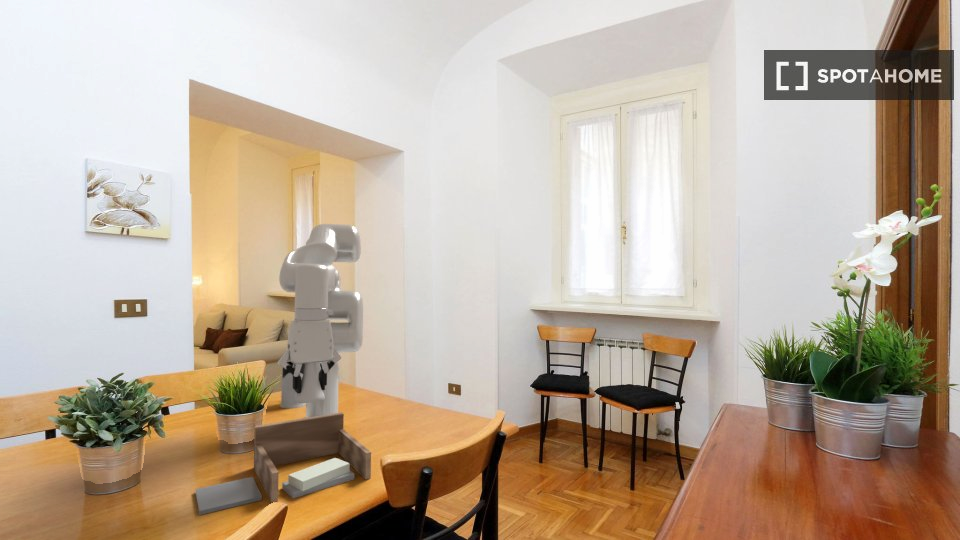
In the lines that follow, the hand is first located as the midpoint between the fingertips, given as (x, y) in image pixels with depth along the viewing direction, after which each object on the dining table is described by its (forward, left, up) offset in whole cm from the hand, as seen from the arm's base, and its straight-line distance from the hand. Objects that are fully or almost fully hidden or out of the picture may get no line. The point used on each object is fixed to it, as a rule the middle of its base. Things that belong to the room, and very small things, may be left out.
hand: (309, 389), depth 111 cm
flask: (0, 0, -3) cm, 3 cm away
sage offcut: (+10, 0, -18) cm, 20 cm away
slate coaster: (+5, -18, -19) cm, 26 cm away
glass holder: (-62, +11, -19) cm, 65 cm away
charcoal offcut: (+10, 0, -20) cm, 22 cm away
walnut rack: (+3, 0, -19) cm, 19 cm away
